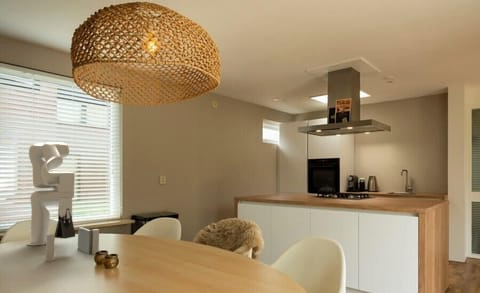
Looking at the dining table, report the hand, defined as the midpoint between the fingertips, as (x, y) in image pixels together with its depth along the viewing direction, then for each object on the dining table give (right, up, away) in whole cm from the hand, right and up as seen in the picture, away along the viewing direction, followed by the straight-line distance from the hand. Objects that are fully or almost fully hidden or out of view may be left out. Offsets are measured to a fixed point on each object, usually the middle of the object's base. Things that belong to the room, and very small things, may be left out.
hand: (64, 229), depth 174 cm
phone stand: (0, -4, 0) cm, 4 cm away
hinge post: (+16, -13, 0) cm, 20 cm away
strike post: (0, -12, -13) cm, 18 cm away
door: (+8, -13, +4) cm, 16 cm away
